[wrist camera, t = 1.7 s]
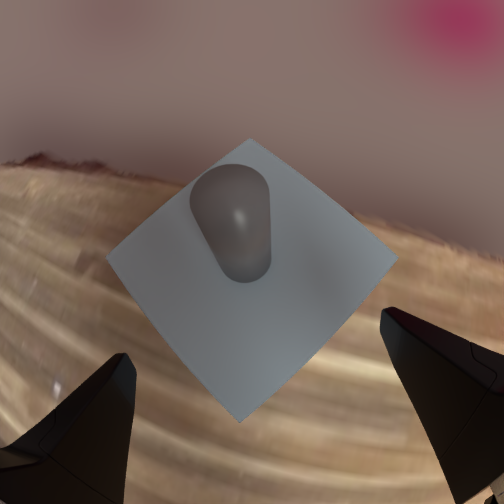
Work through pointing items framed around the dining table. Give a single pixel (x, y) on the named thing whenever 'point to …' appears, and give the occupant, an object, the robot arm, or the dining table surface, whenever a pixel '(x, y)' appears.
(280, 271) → the lid
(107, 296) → the dining table surface
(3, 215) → the dining table surface
